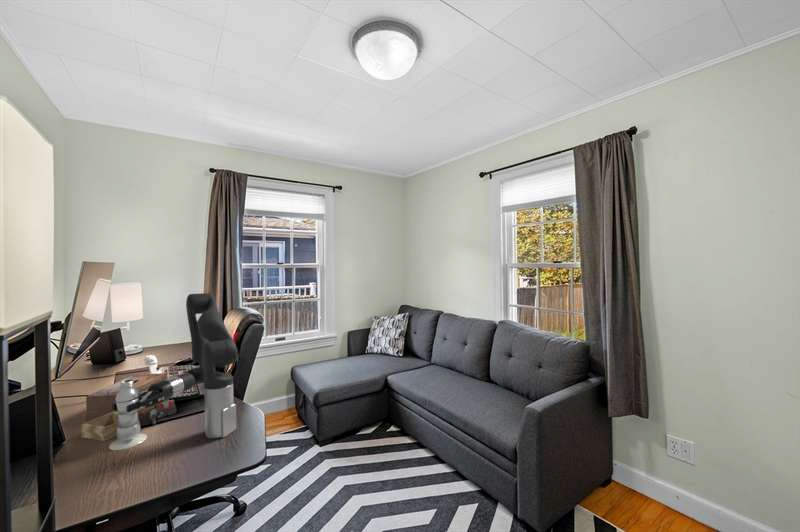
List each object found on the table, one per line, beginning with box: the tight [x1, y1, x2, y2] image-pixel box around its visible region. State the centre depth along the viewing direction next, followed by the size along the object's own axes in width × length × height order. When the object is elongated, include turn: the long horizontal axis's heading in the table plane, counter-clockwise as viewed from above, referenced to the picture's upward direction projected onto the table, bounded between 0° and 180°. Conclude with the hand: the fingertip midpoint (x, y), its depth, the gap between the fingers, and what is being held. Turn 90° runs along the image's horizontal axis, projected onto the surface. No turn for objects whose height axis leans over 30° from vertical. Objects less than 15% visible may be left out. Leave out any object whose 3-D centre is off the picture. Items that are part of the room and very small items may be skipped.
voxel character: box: [144, 354, 163, 374], centre depth 166 cm, size 7×12×15 cm
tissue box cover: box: [85, 372, 167, 421], centre depth 144 cm, size 26×14×10 cm, turn 3°
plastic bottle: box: [116, 379, 142, 441], centre depth 114 cm, size 6×7×20 cm
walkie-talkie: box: [149, 399, 177, 425], centre depth 135 cm, size 9×4×20 cm
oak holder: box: [80, 412, 118, 442], centre depth 121 cm, size 12×11×4 cm
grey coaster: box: [109, 433, 148, 451], centre depth 114 cm, size 10×10×1 cm
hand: (120, 408), depth 111 cm, fingers closed on plastic bottle, 6 cm apart
